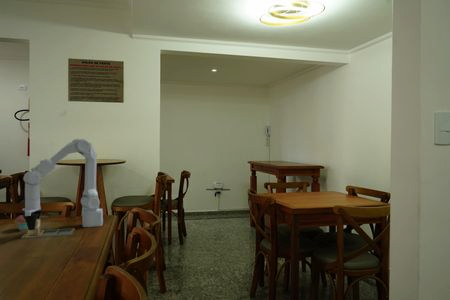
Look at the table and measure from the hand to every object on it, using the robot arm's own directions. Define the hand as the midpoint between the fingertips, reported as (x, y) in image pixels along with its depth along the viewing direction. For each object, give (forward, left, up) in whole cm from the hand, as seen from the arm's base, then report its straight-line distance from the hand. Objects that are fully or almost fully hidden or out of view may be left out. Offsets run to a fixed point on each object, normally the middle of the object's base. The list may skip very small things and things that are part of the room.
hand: (33, 228), depth 144 cm
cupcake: (+8, -15, -4) cm, 17 cm away
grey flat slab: (-6, 0, -4) cm, 7 cm away
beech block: (0, 0, -2) cm, 2 cm away
